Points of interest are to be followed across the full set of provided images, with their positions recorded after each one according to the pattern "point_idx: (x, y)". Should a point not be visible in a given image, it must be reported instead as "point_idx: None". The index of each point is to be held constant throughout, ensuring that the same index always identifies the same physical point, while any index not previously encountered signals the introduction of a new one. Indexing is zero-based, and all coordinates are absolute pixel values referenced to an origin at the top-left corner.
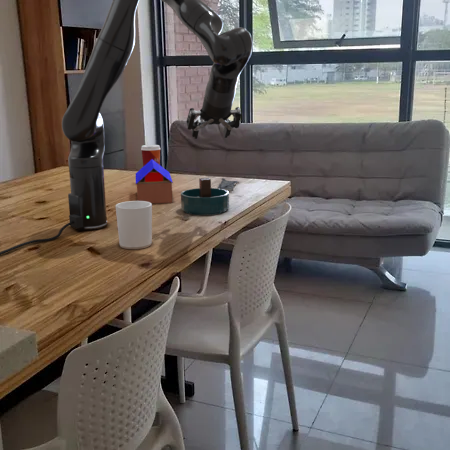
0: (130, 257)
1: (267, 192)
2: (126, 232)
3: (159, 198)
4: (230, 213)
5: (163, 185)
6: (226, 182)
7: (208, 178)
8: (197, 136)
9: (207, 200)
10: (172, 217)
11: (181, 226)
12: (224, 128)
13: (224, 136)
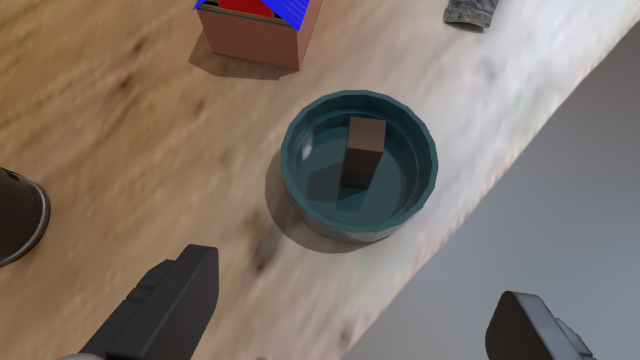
0: None
1: (578, 62)
2: None
3: (265, 55)
4: (409, 243)
5: (272, 30)
6: None
7: (381, 131)
8: (199, 338)
9: (341, 232)
10: (239, 219)
11: (221, 333)
12: (541, 349)
13: (491, 340)
